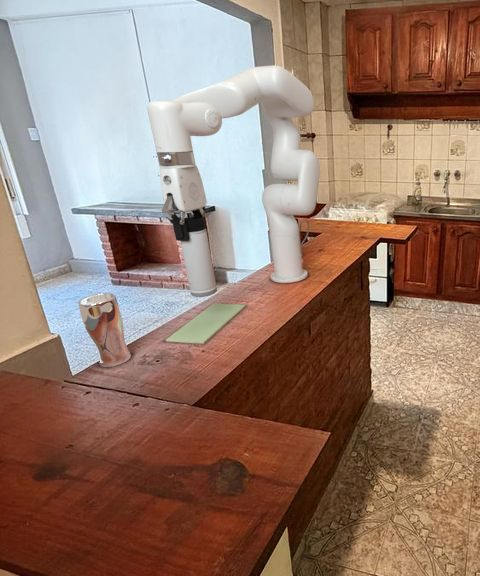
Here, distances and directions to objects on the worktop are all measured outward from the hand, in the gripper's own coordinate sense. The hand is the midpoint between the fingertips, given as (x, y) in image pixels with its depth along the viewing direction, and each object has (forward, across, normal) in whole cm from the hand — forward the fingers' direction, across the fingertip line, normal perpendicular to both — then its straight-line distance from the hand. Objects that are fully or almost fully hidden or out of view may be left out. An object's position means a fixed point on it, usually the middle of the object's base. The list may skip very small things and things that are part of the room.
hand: (191, 236), depth 97 cm
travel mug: (+15, 0, 0) cm, 15 cm away
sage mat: (+24, 0, 0) cm, 24 cm away
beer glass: (+24, -20, +11) cm, 33 cm away
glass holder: (+24, +62, -3) cm, 66 cm away
